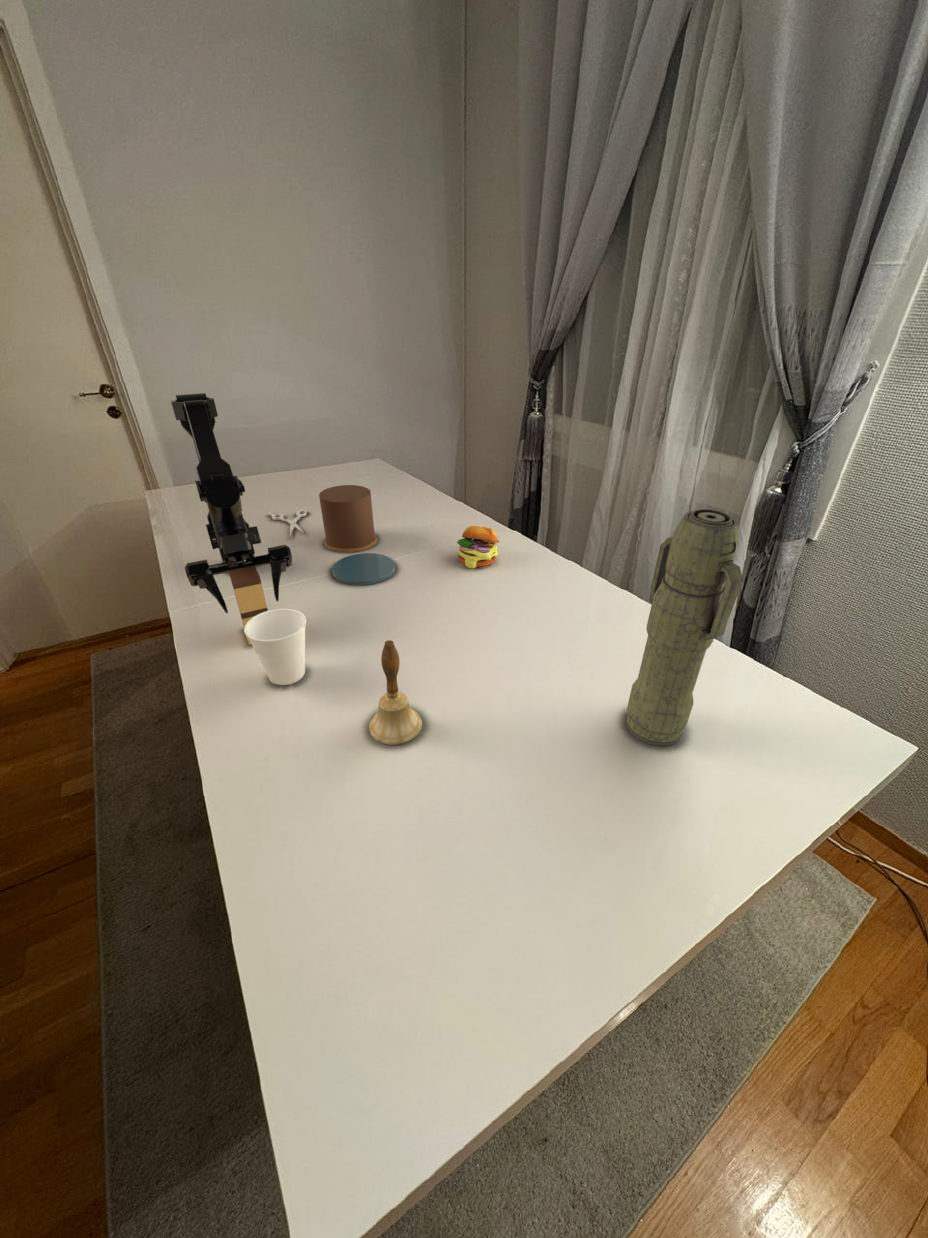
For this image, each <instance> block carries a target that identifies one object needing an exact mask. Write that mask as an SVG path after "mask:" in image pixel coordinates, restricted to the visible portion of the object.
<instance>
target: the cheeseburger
mask: <svg viewBox="0 0 928 1238" xmlns="http://www.w3.org/2000/svg"><path fill="white" fill-rule="evenodd" d="M461 537H462V538H460V539H457V541H456V544H457V545H458V559H459V561H460V562H461V563H462V564H463V565H465V567H467V568H468V569H476V568H478V567H485V566H489V565H491V564H494V563H495V561H496V558H497V557H498V554H499V552H498V545H497V544H498V543H500V540H499V539H498V535H497V533H496V531H495V530H494V528H492V527H487V526H480V525H469V526H468V527H466V528H465V529H464V530H463V532H462V534H461Z"/></svg>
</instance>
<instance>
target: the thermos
mask: <svg viewBox="0 0 928 1238" xmlns="http://www.w3.org/2000/svg"><path fill="white" fill-rule="evenodd" d="M738 548H739V527H738V521H737V519H736V518H735V517H732V516H731V515H730V514H728V513H726V512H723V511H721V510H716V509H710V508H699V509H695V510H691V511H688V512H686V513H685V514H684V515H683V517H682V519H680V522H679V523H678V525H677V526H676V528H675V529H674V531H673V534H672V536H670V537H667V538H666V539H665V540H664V541H663V542H662V543H661V544H660V546H659V550H658V553H657V558H656V563H655V567H654V572H653V577H652V581H651V585H650V591H649V602H650V603H651V606H650V610H649V614H648V618H647V623H646V628H645V629H646V633H647V638H646V643H645V646H644V651H643V655H642V659H641V664H640V667H639V671H638V672H639V673H638V676H637V678H636V680H635V681H634V682H633V684H632V685H631V689H630V692H629V693H630V694H629V696H628V697H629V698H628V701H627V708H626V711H627V712H626V715H625V721H624V722H625V725H626V729H627V730H628V731H629V732H630V734H631V735H632V736H634V737H635V738H636V739H638V740H639V741H641V742H643V743H646V744H648V745H653V746H656V747H668V746H672V745H674V744H676V743H678V742H679V741H680V740H681V738H682V737H683V734H684V730H685V728H686V727H687V724H688V723H689V720H690V716H691V713H692V710H693V707H694V694H693V693H694V690H695V686H696V683H697V680H698V678H699V675H700V671H701V669H702V665H703V662H704V659H705V656H706V653H707V650H708V649H710V647H711V646H712V644H713V642H714V640H715V639H716V638H719V637H721V636H723V635H725V632H726V629H727V625H728V621H729V619H730V617H731V614H732V611H733V608H734V605H735V603H736V600H737V597H738V596H739V595H738V594H739V593H740V590H741V587H742V584H743V581H744V579H743V575H742V570H741V567H740V566H738V565H737V564H735V563H734V560H735V557H736V555H737V551H738Z"/></svg>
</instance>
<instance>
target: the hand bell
mask: <svg viewBox="0 0 928 1238" xmlns="http://www.w3.org/2000/svg"><path fill="white" fill-rule="evenodd" d="M380 660H381V668H382V671H383V673H384V675H385V678H386V692H385V693H384V694H382V695H381V696H380V698H379V700H378V708H377V712H376V713H375V714H374V715H373V717H372V718H371V720H370V722H369V724H368V731H369V734H370V736H371V737H372V738H373V739H374V740H375V741H377V742H378V743H381V744H383V745H391V746H395V745H402V744H406V743H408V742H410V741H412V740H413V739H415V738H416V737H417V736H418V735H419V734H420V732H421V730H422V728H423V721H422V718H421V716H420V714H419V713H418V712H417V711H415V710H414V709H412V708H411V706H410V703H409V698H408V696H407V695H406V694H405V693H403V692H401V691H399V685H398V673H399V670H400V655H399V651H398V649H397V648H396V645H395V642H394V641H393V640H386V641H384V644H383V649H382V652H381V659H380Z"/></svg>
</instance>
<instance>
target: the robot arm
mask: <svg viewBox="0 0 928 1238" xmlns="http://www.w3.org/2000/svg"><path fill="white" fill-rule="evenodd" d="M170 403H171V407H172V411H173V414H174V418H175V421H179V422H180V427H181V428H182V429H183V430H184V431H185V432H186V433H187V434H188V435H189V436H190V437H191V439H192V441H193V444H194V448H195V452H196V456H197V459H198V464H197V465H196V467H195V471H196V475H197V478H198V479H197V480H195V481H194V482H195V486H196V490H197V493H198V496H199V500H200V502H201V503H202V502H204V503H206V505H207V509H208V513H207V516H206V518H207V522H208V523H206V524H205V527H206V530H207V534H208V538H209V541H210V544H211V545H210V546H211V548H212V550H215V549H218V551H219V554H220V558H221V562H220V563H215V564H210V565H209V561H208V559H203V560H197V561H192V562H187V563H186V564H185V566H184V572H185V575H186V578H187V580H188V582H189V584H190V586H191V587H199V589H200V590H204V589H205V590H207V592H209V593H210V594H211V595H212V597H213V598H214V599H215V600H216V602H217V603H218V605H220V607H221V608H222V610H223V611H224V613H225V614H229V610H228V607H227V604H226V601H225V599H224V597H223V594H222V592H221V590H220V588H219V586H218V583H217V581H216V578H215V576H218V575H221V574H227V573H229V571H230V570H235V569H240V568H245V567H250V566H256V568H257V567H262V566H267V565H269V566H270V576H271V581H272V588H273V589H272V590H273V595H274V598H275V602H279V601H280V600H279V599H280V597H279V596H280V582H281V576H282V573H285V572H286V571H287V568H289V567H292V565H293V554H292V551H291V548H290V547H289V546H288V545H287V544H282V545H278V546H271V547H267V554H262V555H257V556H256V555H255V554H256V552H255V548H254V545H258V544H259V545H260V544H261V543H262V539H261V536H260V532H259V528H258V525H255V526H250V524H249V523H248V522H247V521H246V520H245V518H244V515H243V507H242V500H241V497H243V496H244V493H246V489H245V485H244V483H243V481H242V480H241V479H239V477H238V475H234V473H233V469H232V467H231V464H230V463H228V461H226V460H225V459H223V458H222V456H221V451H220V449H219V446H218V442H217V439H216V435H215V433H214V429H215V427H216V418H217V417H219V414H218V411H217V406H216V402H215V398H213V397H208V396H207V394H206V392H203V393H188V394H176V395H175V399H174V400H171V401H170Z"/></svg>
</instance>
